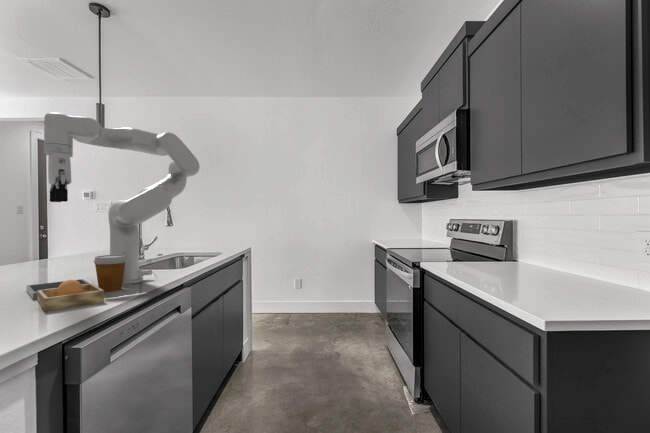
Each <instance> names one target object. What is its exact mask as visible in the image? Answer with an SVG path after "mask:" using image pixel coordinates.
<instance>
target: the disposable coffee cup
mask: <svg viewBox="0 0 650 433" xmlns="http://www.w3.org/2000/svg"><path fill="white" fill-rule="evenodd" d="M126 260H127V259H126V256H125V255H110V254H105V255H97V256H95V257H94V259H93V261H92V262H93V263H94V265H95V273H96V279H97V287H99V288H101V289H103V290H104V293H110V292H111V293H112V292H117V291H120V290H122V287H123V284H122V282H123V275H124V268H125V262H126Z"/></svg>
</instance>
